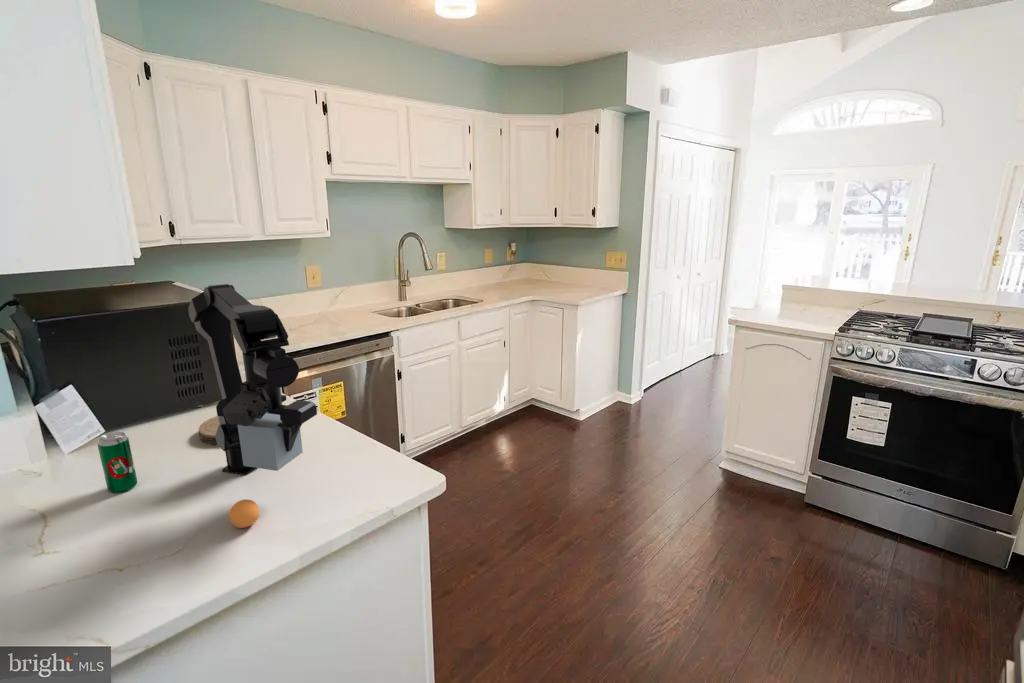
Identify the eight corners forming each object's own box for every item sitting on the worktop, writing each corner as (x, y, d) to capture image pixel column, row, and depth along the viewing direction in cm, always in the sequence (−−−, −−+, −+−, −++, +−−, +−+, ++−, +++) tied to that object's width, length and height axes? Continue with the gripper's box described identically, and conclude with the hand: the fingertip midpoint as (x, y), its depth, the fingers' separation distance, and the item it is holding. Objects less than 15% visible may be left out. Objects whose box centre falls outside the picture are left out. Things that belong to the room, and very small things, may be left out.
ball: (238, 492, 95) (244, 513, 97) (219, 510, 90) (226, 532, 92) (261, 495, 94) (267, 516, 96) (244, 513, 89) (250, 535, 91)
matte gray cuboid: (243, 465, 97) (237, 424, 95) (270, 448, 105) (265, 409, 102) (277, 470, 96) (272, 428, 93) (302, 452, 103) (298, 412, 101)
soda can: (118, 482, 108) (107, 431, 105) (143, 481, 108) (133, 430, 105) (102, 495, 103) (90, 442, 100) (128, 494, 103) (116, 441, 100)
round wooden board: (263, 416, 143) (262, 406, 142) (272, 437, 130) (271, 426, 129) (198, 428, 134) (197, 418, 134) (201, 452, 122) (199, 441, 121)
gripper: (186, 383, 90) (199, 462, 94) (275, 393, 86) (285, 474, 90) (233, 365, 100) (243, 436, 104) (314, 373, 96) (322, 447, 100)
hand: (271, 448), depth 99 cm, fingers closed on matte gray cuboid, 8 cm apart
